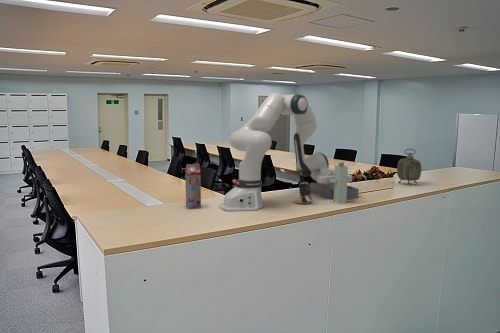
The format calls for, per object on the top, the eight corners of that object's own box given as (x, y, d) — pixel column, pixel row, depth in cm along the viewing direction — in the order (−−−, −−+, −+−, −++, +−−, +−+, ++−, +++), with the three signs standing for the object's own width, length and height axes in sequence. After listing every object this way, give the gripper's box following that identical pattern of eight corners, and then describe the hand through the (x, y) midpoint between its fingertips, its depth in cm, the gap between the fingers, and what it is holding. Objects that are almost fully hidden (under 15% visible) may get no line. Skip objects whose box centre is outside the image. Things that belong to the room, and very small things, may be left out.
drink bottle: (338, 203, 209) (339, 163, 206) (333, 201, 213) (334, 162, 210) (346, 203, 210) (348, 162, 207) (341, 201, 215) (342, 161, 212)
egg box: (322, 194, 229) (322, 183, 229) (316, 191, 237) (316, 181, 236) (340, 192, 233) (340, 183, 232) (333, 190, 241) (333, 180, 240)
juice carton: (200, 208, 195) (200, 164, 192) (187, 209, 193) (187, 165, 190) (198, 205, 201) (198, 163, 199) (185, 206, 200) (185, 163, 197)
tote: (330, 201, 215) (330, 190, 215) (310, 192, 238) (310, 183, 237) (358, 199, 221) (358, 188, 220) (336, 191, 244) (336, 181, 243)
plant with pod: (304, 206, 202) (305, 168, 200) (290, 202, 212) (291, 165, 209) (315, 204, 207) (317, 167, 204) (301, 200, 216) (302, 165, 213)
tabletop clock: (418, 184, 272) (420, 148, 269) (420, 186, 264) (423, 149, 260) (396, 183, 276) (398, 147, 272) (398, 185, 267) (400, 149, 264)
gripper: (312, 172, 219) (324, 175, 206) (344, 171, 225) (357, 174, 212) (311, 183, 219) (324, 187, 206) (343, 181, 226) (357, 186, 213)
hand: (341, 181), depth 209 cm, fingers closed on drink bottle, 5 cm apart
